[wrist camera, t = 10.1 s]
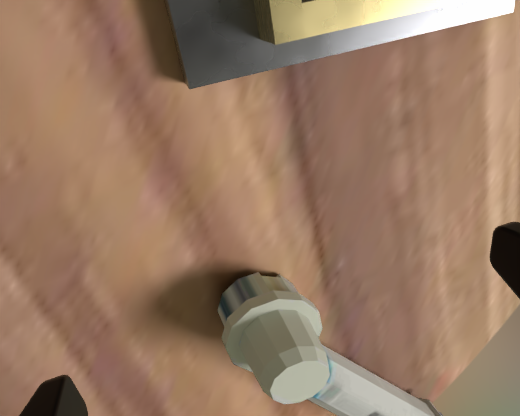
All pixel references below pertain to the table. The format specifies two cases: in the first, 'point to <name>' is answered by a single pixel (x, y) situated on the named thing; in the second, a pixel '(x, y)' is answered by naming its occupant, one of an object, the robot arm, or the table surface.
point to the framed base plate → (301, 30)
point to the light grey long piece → (301, 353)
